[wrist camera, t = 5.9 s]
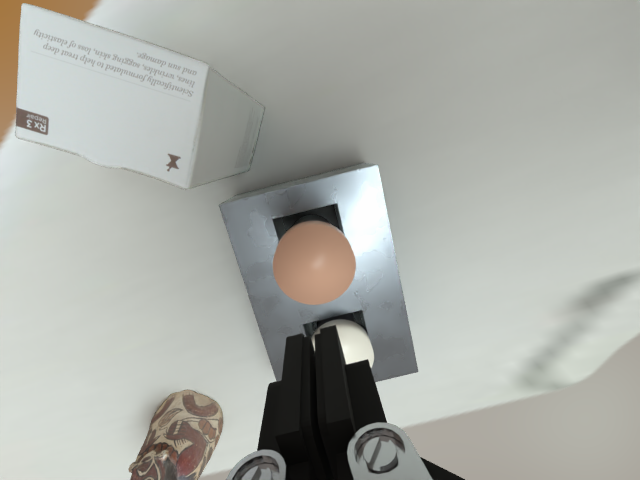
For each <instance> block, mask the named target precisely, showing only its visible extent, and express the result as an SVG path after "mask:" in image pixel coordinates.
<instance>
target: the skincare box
mask: <svg viewBox="0 0 640 480" xmlns="http://www.w3.org/2000/svg"><path fill="white" fill-rule="evenodd" d="M17 84H18V85H17V103H16V104H17V107H16V130H15V136H16V137H17V138H18V139H22V140H25V141H29V142H33V143H36V144H40V145H43V146H47V147H51V148H54V149H58V150H61V151H65V152H68V153H72V154H75V155H78V156H82V157H84V158H85V159H87V160H89V161H90V162H92V163H95V164H97V165H100V166H104V167H108V168H122V169H125V170H129V171H132V172H136V173H139V174H142V175H146V176H149V177H152V178H155V179H158V180H161V181H163V182H166V183H168V184H171V185H173V186H176V187H179V188H181V189H186V190H187V189H191V188H193V187H197V186H200V185H203V184H206V183H210V182H213V181H216V180H220V179H223V178H226V177H230V176H233V175H236V174H240V173H243V172H246V171H249V169H250V166H251V162H252V158H253V154H254V150H255V146H256V142H257V138H258V134H259V130H260V126H261V122H262V117H263V114H264V109H265V108H264V106H262V105H261V104H260V103H258V102H257V101H255V100H254V99H253V98H252V97H250V96H249V95H248V94H246V93H245V92H243V91H242V90H241V89H239V88H238V87H236V86H235V85H234V84H232V83H231V82H230V81H228V80H227V79H226V78H224V77H223V76H222V75H220V74H219V73H218V72H216V71H215V70H214V69H212V68H211V67H210V66H209V64H207V63H205V62H202V61H199V60H197V59H194V58H191V57H189V56H186V55H183V54H180V53H177V52H175V51H172V50H169V49H166V48H163V47H160V46H157V45H155V44H152V43H149V42H146V41H143V40H140V39H137V38H134V37H131V36H128V35H125V34H122V33H119V32H116V31H113V30H110V29H107V28H103V27H100V26H97V25H94V24H91V23H88V22H85V21H82V20H79V19H75V18H73V17H70V16H67V15H64V14H60V13H57V12H54V11H51V10H47V9H44V8H41V7H37V6H34V5H30V4H26V3H23V4H22V7H21V19H20V36H19V62H18V83H17Z"/></svg>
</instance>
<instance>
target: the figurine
mask: <svg viewBox="0 0 640 480" xmlns="http://www.w3.org/2000/svg"><path fill="white" fill-rule="evenodd" d="M222 426H223V417H222V410H221V408H220V406H219V405H218V403H217V402H216V401H213V400H212V399H210V398H209V397H207V396H204V395H202V394H198V393H196V392H194V391H192V390H184V391H182V392H176V393H173V394H171V395H170V396H169V397H168V398H167V399H166V400H165V401H164V403H163V404H162V405H161V406H160V408H159V409H158V411H157V412H156V413H155V415H154V417H153V418H152V421H151V424H150V428H149V431H148V434H147V437H146V439H145V441H144V444H143V446H142V448H141V450H140V452H139V454H138V456H137V459H136V461H135V462H133V463H132V464H131V465H130V467H129V472H131V473H132V476H131V479H130V480H198V478H199V477H200V475H201V473H202V472H203V470H204V468H205V466H206V465H207V463H208V461H209V459H210V457H211V455H212V453H213V451H214V449H215V447H216V445H217V443H218V440H219V438H220V435H221V432H222Z"/></svg>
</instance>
